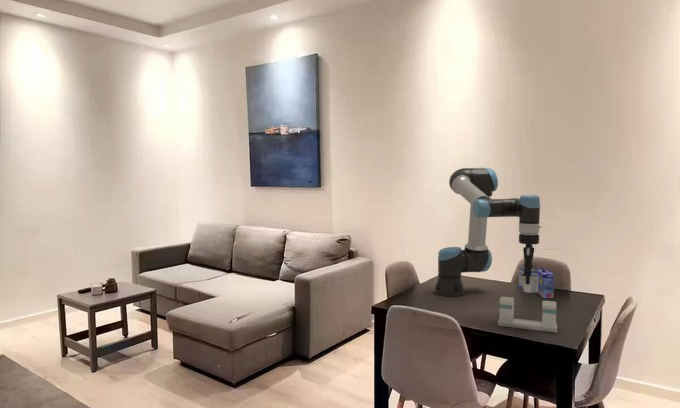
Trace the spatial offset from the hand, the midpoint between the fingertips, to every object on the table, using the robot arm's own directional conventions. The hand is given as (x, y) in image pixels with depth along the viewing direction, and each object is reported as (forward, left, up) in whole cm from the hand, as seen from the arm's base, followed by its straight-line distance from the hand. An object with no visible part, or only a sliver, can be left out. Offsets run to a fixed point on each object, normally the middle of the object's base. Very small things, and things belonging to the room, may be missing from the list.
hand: (528, 289), depth 187 cm
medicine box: (0, 0, -1) cm, 1 cm away
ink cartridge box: (+6, +52, -16) cm, 55 cm away
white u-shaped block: (0, 0, -15) cm, 15 cm away
